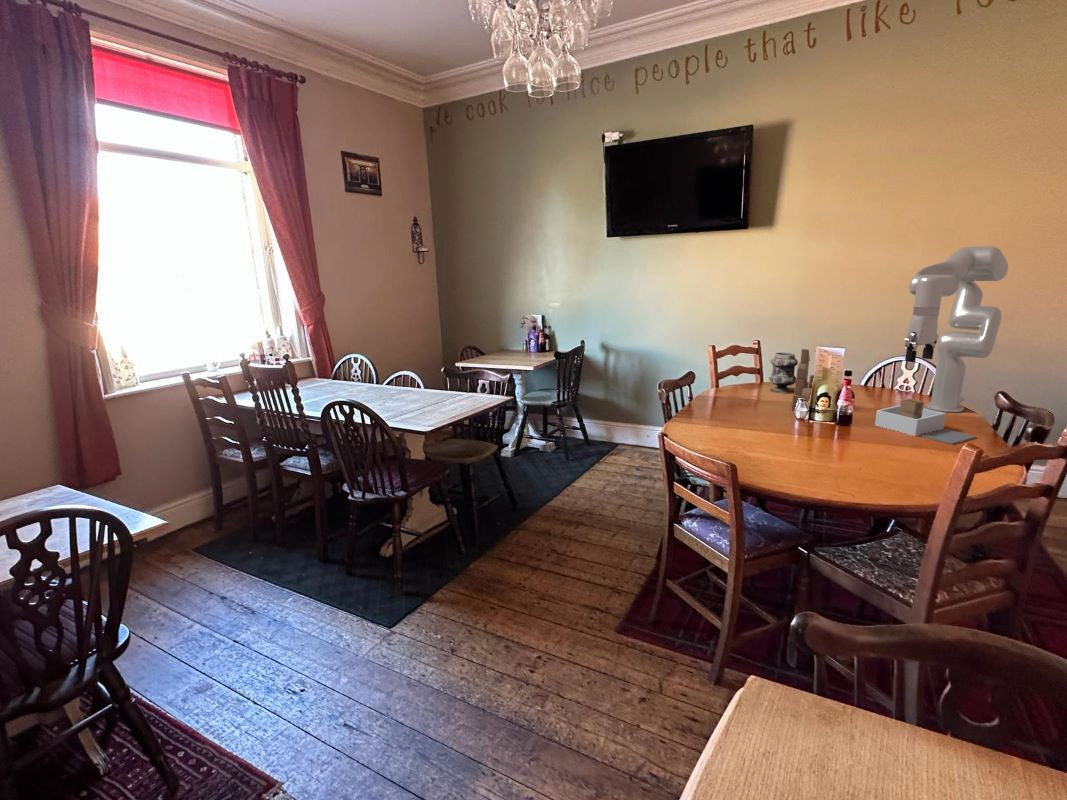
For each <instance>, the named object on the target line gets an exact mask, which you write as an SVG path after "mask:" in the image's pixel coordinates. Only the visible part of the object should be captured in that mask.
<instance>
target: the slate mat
mask: <svg viewBox="0 0 1067 800" xmlns="http://www.w3.org/2000/svg"><path fill="white" fill-rule="evenodd" d="M924 437H925V438H924ZM920 438H924V439H928V438H929V439H928V440H931V439H932V441H935V440H936V442H939V443H943V444H947V445H950V444H953V445H956V444H955V443H957V444H959V443H958V442H960V441H964V442H966V441H965V440H968V439H971V440H973V439H972V438H975V439H977V435H972V434H969V433H968V434H967V433H963V432H960V431H956V430H951V429H947V428H944V429H941V430H937V431H934V432H930V433H926V434H922V435H920ZM968 441H969V440H968Z"/></svg>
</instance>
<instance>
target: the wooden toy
mask: <svg viewBox="0 0 1067 800" xmlns="http://www.w3.org/2000/svg"><path fill="white" fill-rule="evenodd" d="M810 361H811V358H810V351H809V349H805V348H803V349H801V353H800V362H798V364H797V370H796V382H795V383H794V394H793V395H792V404H791V411H794V410H795V407H796V403H797V400H798V398H804V399H805V400H806V401H809V399H810V395H811V390H812V382H813V378H814V375H815V374H811V375H809V367H810V366H809V365H810ZM808 376H809V382H808ZM794 412H795V411H794Z"/></svg>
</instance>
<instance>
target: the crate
mask: <svg viewBox="0 0 1067 800" xmlns="http://www.w3.org/2000/svg"><path fill="white" fill-rule="evenodd" d="M900 406H901V404H899V405H895V406H891V407H885V408H881V409H878V410H876V414H875V421H874V422H875V423H874V426H876V427H878V426H879V427H878V428H882V427H883V429H886V428H887V429H886V430H890V429H891V430H890V431H893V430H895V431H894V432H897V431H899V432H898V433H901V432H902V434H905V433H906V434H905V435H908V434H909V436H912V435H913V436H912V437H918V436H921V434H922V435H923V434H924V433H926V434H927V433H928V432H930V433H931V432H933V431H934V432H935V431H936V430H937V431H939V430H942V429H945V428H944V426H945V422H946V415H947V412H943V411H937V410H932V409H929V408H926V407H925V408H924V407H923V411H922V417H921V418H919V419H914V418H909V417H905V416H901V415H899V413H900Z"/></svg>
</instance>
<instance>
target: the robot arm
mask: <svg viewBox="0 0 1067 800" xmlns="http://www.w3.org/2000/svg"><path fill="white" fill-rule="evenodd" d="M1008 271H1009V263H1008V260H1007V258H1006V257H1005V255H1004V253H1003V252H1002V250H1001V249H999V248H998V247H996V246H992V245H989V246H987V245H985V246H966V247H961V248H959V249H956V250H955V252H953V253H952V254H951V255H950V256H949V257H948V258H947V259H946V260H944V261H940V262H937V263H935V264H932V265H928V266H926V267H924V268H922V269H920V270H918V271H917V272H916V273H915V274H914V275H913V277H912V278H911V279H910V281H909V284H908V285H909V286H908V289H909V293H910V294H911V295H912V296H915V298H914V303H913V304H914V305H913V311H912V316H911V318H910V321H909V324H908V329H907V331H906V332H907V333H906V337H905V339H904V343H905V344H904V346H905V351H906V352H905V357H904V358H905V359H904V361H905V362H908V363H909V362H910V363H915V362H916V361H917V360H916V359H917V358H916V357H917V352H918V351H917V350H918V347H919V346H924V347H923V349H922V355H921V356H922V357H921V358H922V359H925V360H932V359H933V357H934V350H935V348H936V344H937V360H936V367H935V374H934V379H933V387H932V392H931V393H932V394H931V399H930V401H928V402H926V403H925V408H926V409H929V410H934V411H938V412H943V413H961V412H963V411H964V409H965V407H964V406H963V405H961V403H962V402H965V400H966V399H965V397H964V396H962V393H963V389H964V381H965V377H966V370H967V366H966V363H965V362H964V360H963V358H962V357H964V358H965V357H966V358H974V359H985V358H986V359H987V358H988V357H990V355H991V354H992V352H993V349H994V346H995V343H996V339H997V337H998V332H999V329H1000V325H1001V320H1002V311H1001V309H1000V308H998V307H996V306H992V305H981V303H982V301H983V297H984V293H983V291H982V289H981V288H980V286H979V285H978V284H977V283H976V282H998V281H999V282H1000V281H1001V280H1003V279H1004V278H1005V277H1006V276H1007V274H1008ZM954 294H955V297H954V300H953V304H952V307H951V311H950V313H949V318H948V325H949V326H950V327H951V328H953V329H957V330H967V331H956V330H955V331H945V332H942V333H941V334H940V335H939V334H938V324H939V321H938V319H939V316H940V309H941V303H942V297H951V296H953V295H954ZM969 331H980V332H969Z"/></svg>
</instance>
